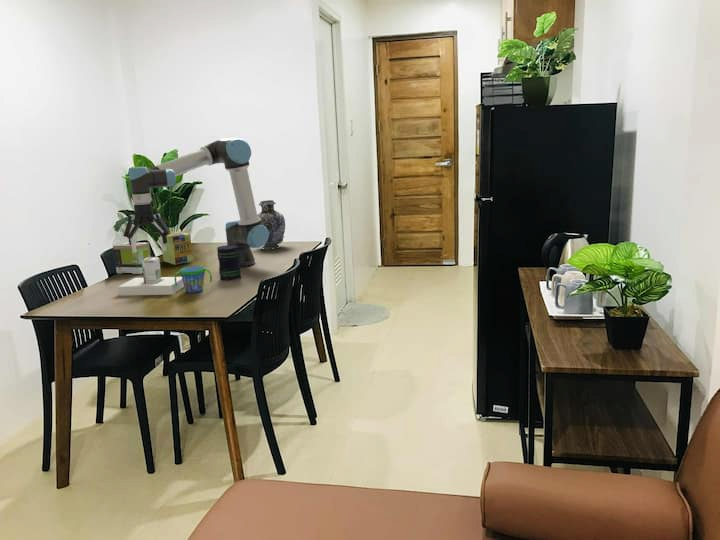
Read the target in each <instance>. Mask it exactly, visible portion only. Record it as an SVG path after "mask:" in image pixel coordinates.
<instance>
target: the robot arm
mask: <svg viewBox="0 0 720 540" xmlns="http://www.w3.org/2000/svg"><path fill="white" fill-rule="evenodd" d="M251 156H252V149H251V146H250V144H249V143H248V142H247V141H246V140H245V139H242V138H238V137H233V138H231V137H230V138H220V139H217V140H215V141H212V142H211V143H208V144H205V145H204V146H201V147H200V149H199V150H195V151H193V152H190V153H188V154H185V155H181V156H179V157H176V158H174V159H172V160H168V161H166V162H163V163H160V164H158V165H155V166H152V167H149V168H147V167H146V166H136V167H135V166H133V167H130V168H129V169H128V177H129V184H130V189H131V190H130V191H131V196H132V197H131V198H132V203H133V210H134V212H133V213H134V215H133V214H129V215H128V216H127V223H126V226H125V229H124V232H123V237H125V238H127V239H128V242H129V244H130V245H131V246H132V253H135V252H137V249H136V243H137V242H136V238H135V236H134V235H135V234H136V232H138V231H137V230H138V229H139V227H140V226H151V227H153V229H155V231H156V232H157V233H158V234H160V237H159V238H160V246H161V252H162V253H163V252H164V251H166V243H167V237H166V236H167V235H169V234H170V233H171V231H170V229H169V228H168V226H167V225H166V223H165V221H164V220H163V218H162V215H161V213H156V214H154V211H153V210H154V208H153V204H152V196H151V189H155V188H156V189H157V188H166V187H168V188H169V187H173V186H174V185H176V182H177V176H181V175H182V174H185V173H189V172H190V171H194V170H196V169H198V168H201V167H203V166H208V167H209V166H212V165H217V164H223V165H224V168H225V170H226V171H227V172H229V176H230V180H231V186H232V188H233V192H234V193H233V194H234V198H235V202H236V206H237V211H238V215H239V220H238V219H237V220H232V221H228V222H226V223H225V237H226V245H237V246H238V251H239V266H240V268H241V267H242V268H243V266H245V267H248V265H250V266H252V264H253V265H255V264H256V259H255V256H254V253H253V251H252V249H259V248H262V247H263V246H265V244H266V242H267V240H268V237H269V232H268V229H267V228H266V227H265V226H264V225H262V220H261V218H260V217H258V216H257V214H258V212H257V208H256V203H255V198H254V193H253V190H252V184H251V179H250V176H249V171H248V167H249V166H250V160H251ZM154 219H155V220H156V221H157V222H156V221H155V220H154ZM134 220H136V222H135V224H134V225H133V223H134ZM158 224H159V225H158ZM132 226H133V227H132ZM251 248H252V249H251ZM254 263H255V264H254Z"/></svg>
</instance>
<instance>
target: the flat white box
mask: <svg viewBox="0 0 720 540" xmlns="http://www.w3.org/2000/svg"><path fill="white" fill-rule="evenodd" d="M176 283H177V286H176V284H175V276H165V277H164V276H161V282H159V283H158V284H144V277H133V278H132V279H130V280H128V281H126V282H124V283H122V284H121V285H119V286H117V288H118V295H119V296H152V295H153V296H159V295H161V296H163V295H170V296H171V295H172V296H173V295H174V294H176V293H177V292H178V291H180V290H181V289H183V288H185V287H184V284H183V280H182V276H176Z"/></svg>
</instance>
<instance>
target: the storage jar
mask: <svg viewBox="0 0 720 540" xmlns="http://www.w3.org/2000/svg"><path fill="white" fill-rule="evenodd" d="M216 249H217V259H218V265H219V268H218V270H219V271H218V272H219V279H221V280H220V281H224V280H225V281H226V282H228V281H235V280H240V279H241V278H242V276H241V274H242V273H241V267H240V266H239V251H238V246H237V245H227V244H225V245H221V246H217V248H216ZM225 281H224V282H225Z"/></svg>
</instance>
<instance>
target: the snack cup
mask: <svg viewBox="0 0 720 540" xmlns="http://www.w3.org/2000/svg"><path fill="white" fill-rule="evenodd" d="M206 271H207V272H208V274H209V276H210V277H209V282H210V283H212V282H213V279H212V278H213V277H212V276H213V275H212V273H211V271H210V270H209V269H207V268H206V267H204V266H202V265H201V266H200V265H199V266H198V265H197V266H196V265H195V266H185V267H182V268H180V269H179V270H178V271H176V273H175V275H174V277H175V284H176V286H177V283H176V277H177V275H179V274H180V276H181V277H182V280H183V284H184V287H183V288H184V290H185V292H186V293H190V294H192V293H193V294H194V293H200V292H202V291H203V290H204V284H205V283H204V279H205V273H206Z"/></svg>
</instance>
